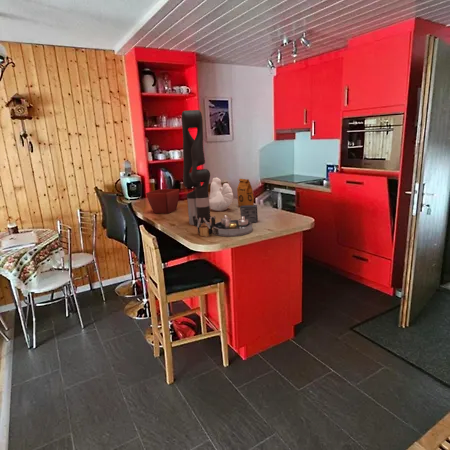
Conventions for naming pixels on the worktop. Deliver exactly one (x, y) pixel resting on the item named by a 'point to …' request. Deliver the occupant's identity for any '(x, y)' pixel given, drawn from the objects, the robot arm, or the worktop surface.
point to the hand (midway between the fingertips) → (205, 233)
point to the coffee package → (245, 193)
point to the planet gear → (204, 231)
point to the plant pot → (163, 200)
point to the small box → (249, 213)
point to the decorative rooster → (220, 195)
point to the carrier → (232, 227)
